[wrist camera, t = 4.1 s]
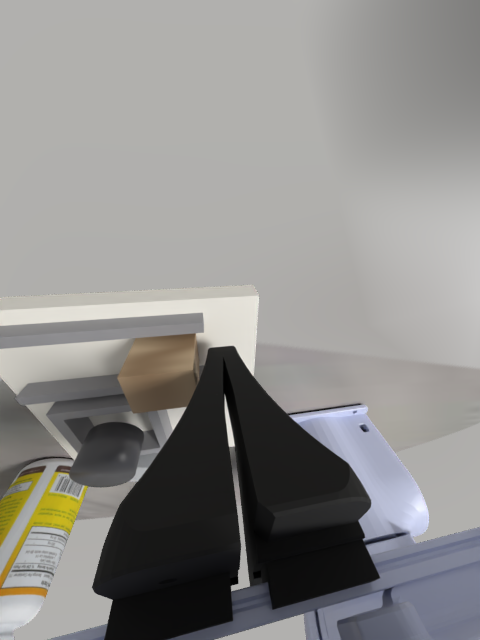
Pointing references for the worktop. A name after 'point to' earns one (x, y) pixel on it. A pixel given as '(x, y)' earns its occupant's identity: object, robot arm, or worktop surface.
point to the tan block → (160, 372)
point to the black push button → (108, 455)
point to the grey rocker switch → (143, 465)
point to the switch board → (111, 352)
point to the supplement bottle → (34, 537)
